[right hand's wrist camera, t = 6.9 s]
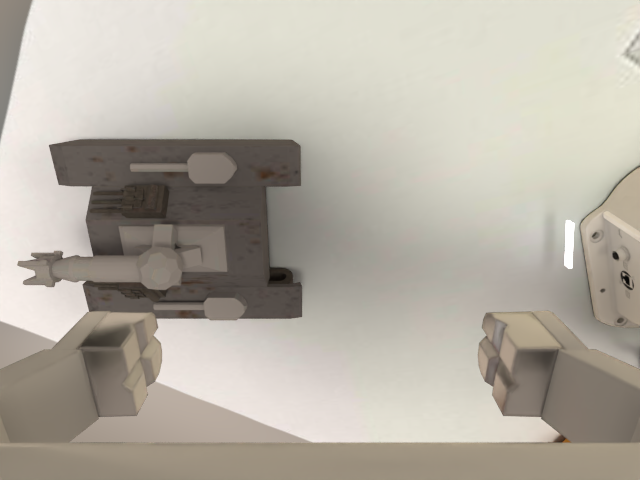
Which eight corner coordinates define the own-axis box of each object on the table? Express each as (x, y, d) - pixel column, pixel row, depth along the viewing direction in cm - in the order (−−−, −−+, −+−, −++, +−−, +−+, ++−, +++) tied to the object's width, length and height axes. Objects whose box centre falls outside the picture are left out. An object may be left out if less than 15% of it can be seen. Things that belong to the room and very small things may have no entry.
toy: (302, 137, 47) (294, 165, 33) (304, 296, 54) (299, 373, 40) (73, 137, 47) (-30, 165, 33) (107, 295, 54) (34, 373, 40)
